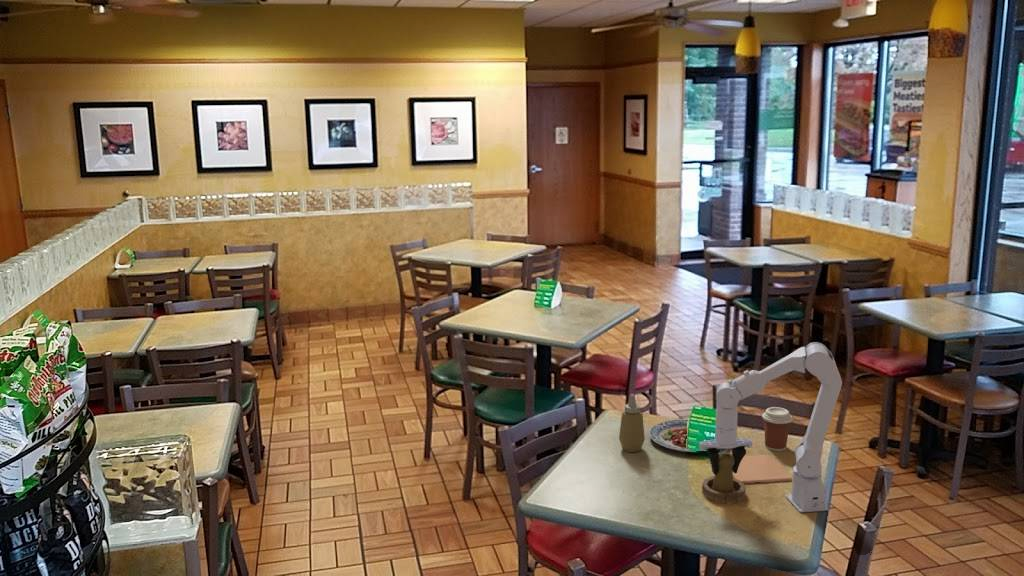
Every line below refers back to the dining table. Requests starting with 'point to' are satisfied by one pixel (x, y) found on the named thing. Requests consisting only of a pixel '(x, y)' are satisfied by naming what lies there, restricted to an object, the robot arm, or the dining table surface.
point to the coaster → (760, 470)
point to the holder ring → (721, 496)
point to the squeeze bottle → (632, 427)
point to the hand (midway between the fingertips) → (724, 472)
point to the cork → (724, 474)
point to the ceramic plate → (671, 434)
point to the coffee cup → (776, 428)
